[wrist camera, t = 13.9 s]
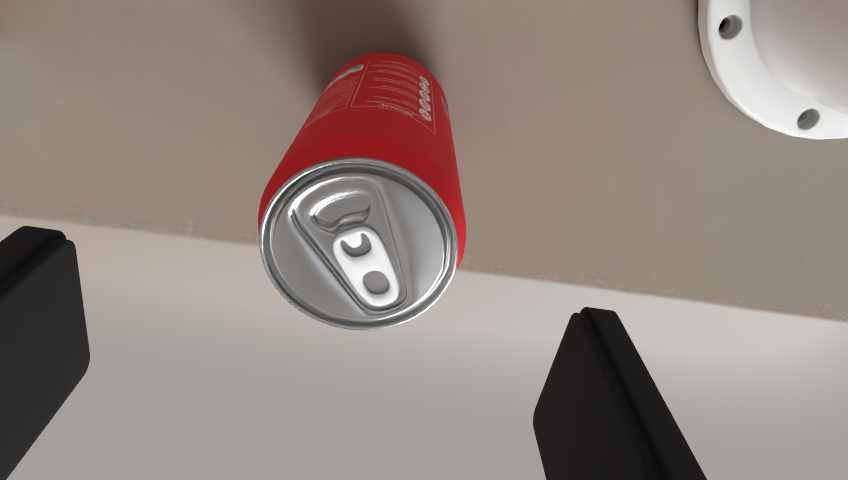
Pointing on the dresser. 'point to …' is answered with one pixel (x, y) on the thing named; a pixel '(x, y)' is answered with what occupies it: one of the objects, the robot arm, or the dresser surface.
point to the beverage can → (367, 199)
